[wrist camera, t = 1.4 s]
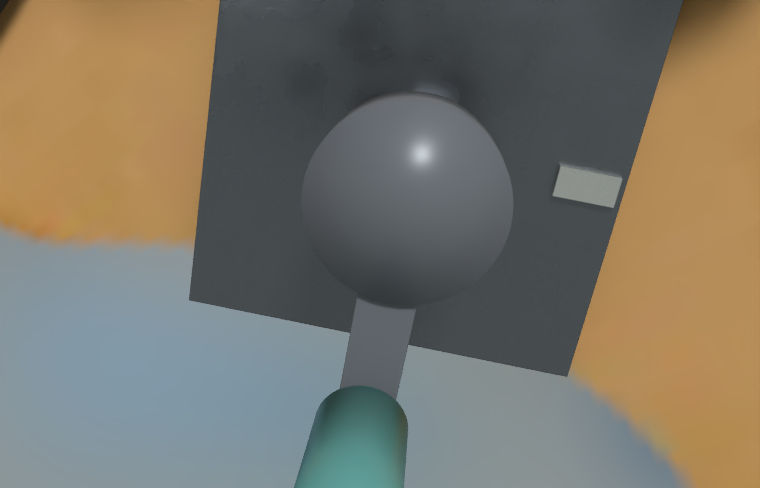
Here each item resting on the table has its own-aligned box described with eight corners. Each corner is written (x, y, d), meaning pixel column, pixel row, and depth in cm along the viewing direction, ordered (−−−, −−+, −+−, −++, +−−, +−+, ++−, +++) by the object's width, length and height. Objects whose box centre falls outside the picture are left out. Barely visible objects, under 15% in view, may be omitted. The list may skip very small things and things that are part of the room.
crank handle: (277, 413, 34) (198, 613, 23) (330, 73, 28) (260, 118, 17) (443, 447, 34) (444, 665, 23) (527, 112, 28) (583, 182, 17)
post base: (197, 290, 42) (136, 362, 34) (240, -116, 35) (177, -153, 27) (562, 364, 42) (594, 456, 33) (682, -30, 35) (761, -41, 26)
